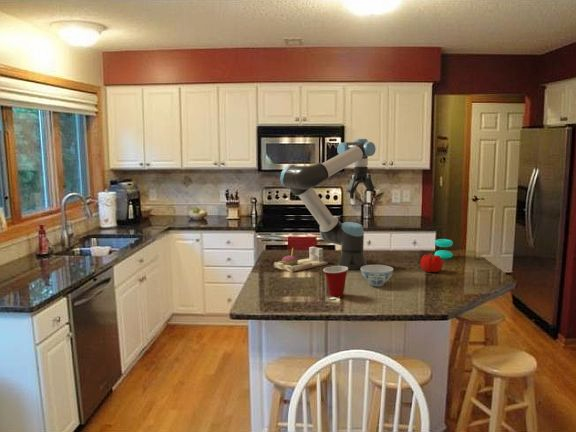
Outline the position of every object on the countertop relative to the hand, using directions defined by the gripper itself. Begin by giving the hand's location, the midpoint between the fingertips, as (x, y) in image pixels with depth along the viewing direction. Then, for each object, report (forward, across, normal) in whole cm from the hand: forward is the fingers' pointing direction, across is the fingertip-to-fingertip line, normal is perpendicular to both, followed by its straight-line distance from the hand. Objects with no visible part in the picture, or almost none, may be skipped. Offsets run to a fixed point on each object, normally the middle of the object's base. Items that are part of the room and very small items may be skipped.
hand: (360, 203), depth 284 cm
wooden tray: (+31, +39, -8) cm, 51 cm away
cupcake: (+32, +47, -8) cm, 58 cm away
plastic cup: (+32, +64, +43) cm, 83 cm away
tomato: (+32, -1, +47) cm, 57 cm away
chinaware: (+32, +38, +44) cm, 66 cm away
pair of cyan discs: (+32, -35, +32) cm, 57 cm away
